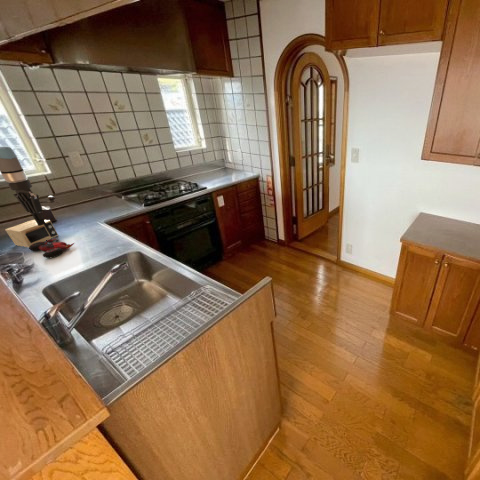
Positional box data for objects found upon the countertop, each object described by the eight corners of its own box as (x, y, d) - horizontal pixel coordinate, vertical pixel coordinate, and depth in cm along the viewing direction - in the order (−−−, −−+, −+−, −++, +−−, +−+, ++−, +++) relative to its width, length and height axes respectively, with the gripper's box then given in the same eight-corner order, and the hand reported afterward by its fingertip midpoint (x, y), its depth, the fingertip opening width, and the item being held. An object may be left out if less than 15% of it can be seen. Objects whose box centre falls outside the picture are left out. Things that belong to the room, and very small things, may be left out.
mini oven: (15, 245, 161) (5, 229, 155) (45, 233, 174) (36, 218, 169) (31, 247, 158) (21, 231, 152) (60, 235, 171) (51, 220, 166)
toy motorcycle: (50, 262, 146) (81, 245, 157) (44, 255, 143) (75, 238, 154) (31, 253, 156) (61, 238, 167) (24, 246, 153) (55, 231, 164)
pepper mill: (37, 225, 186) (23, 201, 177) (36, 221, 192) (23, 197, 184) (66, 218, 195) (54, 195, 187) (64, 214, 202) (52, 192, 194)
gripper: (36, 179, 129) (59, 222, 140) (17, 177, 131) (40, 220, 143) (18, 183, 122) (43, 228, 134) (-2, 181, 125) (24, 226, 136)
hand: (42, 224), depth 138 cm, fingers closed
